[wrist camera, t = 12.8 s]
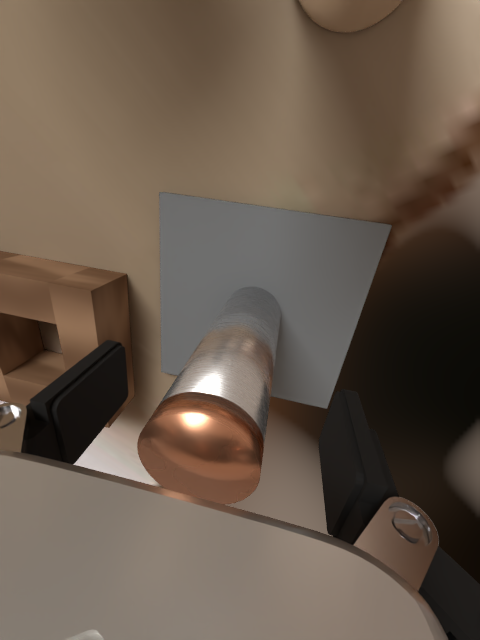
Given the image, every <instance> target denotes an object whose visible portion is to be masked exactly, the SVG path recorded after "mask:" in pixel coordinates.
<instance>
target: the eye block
mask: <svg viewBox="0 0 480 640" xmlns="http://www.w3.org/2000/svg"><path fill="white" fill-rule="evenodd" d="M37 320H39V321H43V322H48V323H53V324H56V325H57V330H58V335H59V340H60V345H61V350H62V354H60V353H55V352H51V351H46V350H44V347H43V343H42V339H41V335H40V330H39V326H38V322H37ZM106 340H112V341H116V342H120V343H121V344H122V346H124V347H125V353H126V366H127V379H128V391H129V393H128V397H127V399H126V401H125V402H124V403H123V405H122V406H121V407H120V408H119V410H118V411H117V412H116V413H115V414H114V416H113V417H112V418H111V419H110V421H109V422H108V423H107V424H106V425H105V427H108V428H109V427H110V426H111V425H112V423H113V422H114V421H115V420H116V418H117V417H118V416H119V415H120V413H121V412H122V411H123V410H124V408H125V407H126V406H127V405H128V403H129V402H130V401H131V400H132V398H133V397H134V396H135V390H134V375H133V361H132V346H131V331H130V317H129V302H128V287H127V274H124V273H118V272H113V271H107V270H102V269H96V268H91V267H85V266H80V265H74V264H69V263H63V262H58V261H52V260H47V259H41V258H36V257H30V256H25V255H19V254H14V253H8V252H3V251H0V400H1V401H5V402H9V403H20V404H23V405H24V406H26V405H28V404H29V403H30V399H31V398H32V397H34V396H35V395H36V394H38V393H39V392H40V391H41V390H43V389H44V388H45V387H47V386H48V385H49V384H51V383H52V382H53V381H54V380H56V379H57V378H58V377H60V376H61V375H62V374H63V373H65V372H66V371H67V370H69V369H70V368H71V367H72V366H74V365H75V364H76V363H78V362H79V361H80V360H81V359H83V358H84V357H85V356H87V355H88V354H89V353H91V352H92V351H93V350H94V349H96V348H97V347H98V346H100V345H101V344H102V343H103V342H105V341H106Z"/></svg>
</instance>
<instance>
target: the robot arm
mask: <svg viewBox="0 0 480 640" xmlns="http://www.w3.org/2000/svg"><path fill="white" fill-rule="evenodd" d="M128 393H129V391H128V379H127V366H126V353H125V347H124V346H122V344H121V343H120V342H116V341H112V340H106V341H105V342H103V343H102V344H101V345H100V346H98V347H97V348H96V349H94V350H93V351H92V352H91V353H89V354H88V355H87V356H85V357H84V358H83V359H81V360H80V361H79V362H78V363H76V364H75V365H74V366H72V367H71V368H70V369H69V370H67V371H66V372H65V373H63V374H62V375H61V376H60V377H58V378H57V379H56V380H54V381H53V382H52V383H51V384H49V385H48V386H47V387H45V388H44V389H43V390H41V391H40V392H39V393H38V394H36V395H35V396H34V397H32V398H31V399H30V403H29V404H28V405H26V406H24V405H23V404H20V403H4V404H1V405H0V640H480V584H479V583H478V582H476V581H475V580H474V579H473V578H472V577H471V576H470V575H469V574H468V573H467V572H466V571H465V570H463V569H462V567H460V566H459V565H458V564H457V563H456V562H455V561H454V560H453V559H452V558H451V557H450V556H449V555H448V554H446V552H444V551H443V550H442V549H441V548H440V547H439V546H438V543H439V538H438V533H437V531H436V528H435V526H434V524H433V522H432V521H431V520H430V518H429V517H428V516H427V514H426V513H424V512H423V511H422V510H421V509H420V508H419V507H418V506H416V505H415V504H414V503H412V502H411V501H408V500H406V499H404V498H400V497H399V495H398V493H397V490H396V487H395V484H394V481H393V478H392V475H391V473H390V470H389V467H388V464H387V461H386V458H385V455H384V452H383V450H382V447H381V444H380V441H379V438H378V435H377V433H376V431H375V430H374V429H369V427H368V424H367V421H366V417H365V414H364V411H363V408H362V405H361V402H360V399H359V396H358V393H357V392H354V391H350V390H345V389H342V390H341V391H340V392H336V393H335V396H334V398H333V401H332V404H331V407H330V410H329V412H328V415H327V418H326V421H325V424H324V427H323V429H322V432H321V435H320V439H319V453H320V462H321V473H322V482H323V493H324V502H325V512H326V522H327V531H328V534H330V535H333V537H332V536H329V535H326V534H323V533H320V532H317V531H314V530H311V529H307V528H304V527H301V526H297V525H294V524H290V523H287V522H284V521H280V520H277V519H273V518H270V517H266V516H263V515H259V514H255V513H252V512H248V511H244V510H241V509H237V508H234V507H230V506H226V505H223V504H219V503H215V502H212V501H208V500H204V499H201V498H197V497H193V496H190V495H186V494H182V493H178V492H175V491H171V490H167V489H164V488H160V487H156V486H152V485H149V484H145V483H141V482H137V481H134V480H130V479H126V478H122V477H119V476H115V475H111V474H107V473H103V472H99V471H96V470H92V469H88V468H84V467H80V466H77V465H73V464H74V463H75V462H76V461H77V460H78V459H79V457H80V456H81V455H82V454H83V452H84V451H85V450H86V449H87V448H88V446H89V445H90V444H91V443H92V441H93V440H94V439H95V438H96V436H97V435H98V434H99V433H100V432H101V430H102V429H103V428H104V427H105V425H106V424H107V423H108V422H109V421H110V419H111V418H112V417H113V416H114V414H115V413H116V412H117V411H118V410H119V408H120V407H121V406H122V405H123V403H124V402H125V401H126V399H127V397H128Z"/></svg>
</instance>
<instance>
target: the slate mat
mask: <svg viewBox="0 0 480 640" xmlns="http://www.w3.org/2000/svg"><path fill="white" fill-rule="evenodd" d="M159 199H160V291H161V372H164V373H168V374H173V375H177V376H178V375H179V374H180V372H181V371H182V369H183V367H184V366H185V364H186V363H187V361H188V360H189V358H190V357H191V355H192V354H193V352H194V351H195V349H196V348H197V346H198V345H199V343H200V342H201V340H202V338H203V337H204V335H205V334H206V332H207V331H208V329H209V328H210V326H211V325H212V323H213V322H214V320H215V319H216V317H217V316H218V314H219V313H220V311H221V310H222V308H223V306H224V305H225V303H226V302H227V300H228V299H229V297H230V296H231V295H232V294H233V293H234V292H235V291H237V290H239V289H241V288H244V287H258V288H262V289H264V290H266V291H268V292H269V293H271V294H272V295H273V296H274V297H275V299H276V300H277V302H278V304H279V306H280V310H281V318H280V326H279V334H278V341H277V349H276V357H275V365H274V372H273V380H272V388H271V395H270V396H272V397H276V398H281V399H285V400H290V401H295V402H299V403H303V404H308V405H312V406H317V407H321V408H326V409H327V407H328V404H329V402H330V399H331V396H332V393H333V390H334V387H335V385H336V382H337V379H338V376H339V373H340V370H341V367H342V365H343V362H344V359H345V356H346V354H347V351H348V348H349V345H350V342H351V339H352V337H353V334H354V331H355V328H356V325H357V323H358V320H359V317H360V314H361V311H362V308H363V306H364V303H365V300H366V297H367V294H368V291H369V289H370V286H371V283H372V280H373V277H374V275H375V272H376V269H377V266H378V263H379V260H380V258H381V255H382V252H383V249H384V246H385V243H386V241H387V238H388V235H389V232H390V229H391V226H392V225H390V224H384V223H377V222H370V221H363V220H356V219H349V218H342V217H335V216H327V215H320V214H313V213H306V212H299V211H292V210H285V209H278V208H271V207H264V206H257V205H250V204H243V203H236V202H229V201H222V200H215V199H208V198H201V197H194V196H187V195H180V194H173V193H166V192H159Z"/></svg>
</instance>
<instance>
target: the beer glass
mask: <svg viewBox="0 0 480 640" xmlns="http://www.w3.org/2000/svg"><path fill="white" fill-rule="evenodd" d="M402 1H403V0H299V2H300V4H301V6H302V8H303V9H304V11H305V12H306V14H307V15H308V16H309V17H310V18H311V19H312V20H313V21H314V22H315V23H317V24H318V25H319V26H321V27H323V28H325V29H327V30H330V31H334V32H340V33H349V32H355V31H360V30H363V29H365V28H368V27H370V26H372V25H374V24H376V23H377V22H379V21H381V20H382V19H384V18H385V17H386V16H387V15H389V14H390V13H391V12H392V11H393V10H394V9H395V8H396V7H398V6H399V5H400V3H401V2H402Z"/></svg>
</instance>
